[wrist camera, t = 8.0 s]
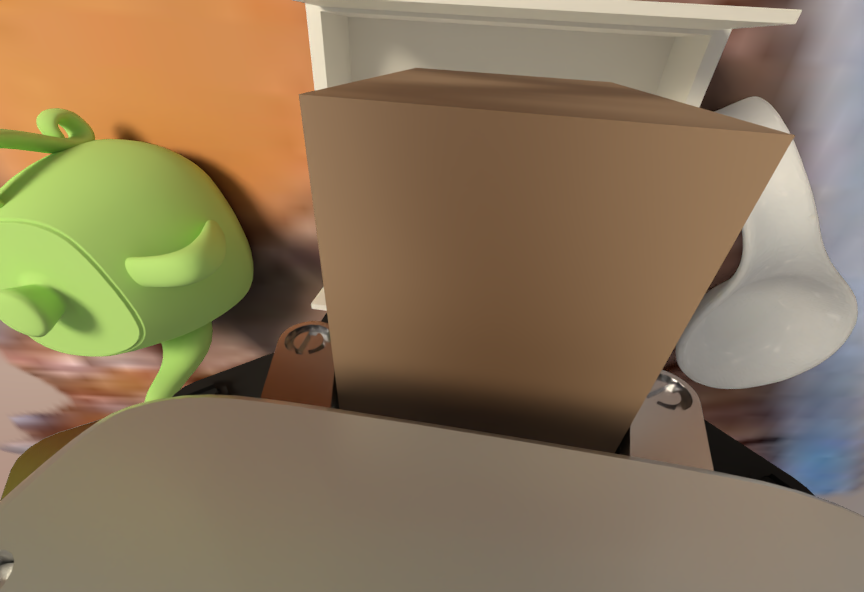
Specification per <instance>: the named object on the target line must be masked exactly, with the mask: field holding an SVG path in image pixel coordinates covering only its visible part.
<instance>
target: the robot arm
mask: <svg viewBox="0 0 864 592" xmlns="http://www.w3.org/2000/svg"><path fill="white" fill-rule="evenodd" d="M0 592H864V516H862V515H860V514H858V513H856V512H853V511H851V510H849V509H847V508H844V507H842V506H840V505H837V504H835V503H833V502H830V501H827V500H824V499H822V498H819V497H816V496H814V495H813V494H812V493H811V492H810V491H809V490H808V489H807V488H806V487H805V486H804V485H802V484H801V483H800V482H798V481H797V480H796V479H794V478H793V477H792V476H790V475H789V474H787V473H785V472H784V471H782V470H781V469H779V468H778V467H776V466H775V465H773V464H772V463H770V462H769V461H767V460H765V459H764V458H762V457H761V456H759V455H758V454H756V453H755V452H753V451H752V450H750V449H749V448H747V447H745V446H744V445H742V444H741V443H739V442H738V441H736V440H735V439H733V438H732V437H730V436H729V435H727V434H725V433H724V432H722V431H721V430H719V429H718V428H716V427H715V426H713V425H712V424H710V423H709V422H707V421H705V420H704V418H703V412H702V407H701V402H700V400H699V397H698V395H697V393H696V392H695V391H694V390H693V388H692V387H691V386H690V385H688V384H687V383H686V382H685V381H684V380H682V379H680V378H679V377H677V376H675V375H674V374H671V373H669V372H666V371H664V370H662V371H661V372H660V374H659V376H658V378H657V379H656V381H655V383H654V385H653V386H652V388H651V390H650V392H649V393H648V395H647V397H646V399H645V400H644V402H643V404H642V406H641V408H640V409H639V411H638V413H637V415H636V416H635V418H634V420H633V422H632V423H631V425H630V427H629V429H628V430H627V432H626V434H625V436H624V437H623V439H622V441H621V443H620V445H619V446H618V448H617V450H616V452H615V453H608V452H602V451H596V450H590V449H584V448H578V447H572V446H566V445H560V444H554V443H548V442H542V441H536V440H530V439H524V438H518V437H511V436H505V435H499V434H493V433H487V432H481V431H474V430H468V429H462V428H456V427H449V426H443V425H437V424H431V423H425V422H418V421H412V420H405V419H399V418H393V417H386V416H380V415H373V414H367V413H360V412H354V411H348V410H341V409H339V401H338V393H337V386H336V378H335V370H334V362H333V355H332V347H331V339H330V332H329V324H328V316H327V313H326V315H325V316H324V318H323V319H322V321H308V322H302V323H299V324H296V325H293V326H292V327H290V328H288V329H287V330H285V331H284V332H283V333H282V334H281V336H280V338H279V339H278V342H277V345H276V349H275V352H274V353H272V354H269V355H266V356H264V357H261V358H258V359H256V360H253V361H250V362H247V363H245V364H242V365H239V366H237V367H234V368H231V369H229V370H226V371H223V372H220V373H218V374H215V375H212V376H210V377H207V378H204V379H201V380H199V381H196V382H194V383H192V384H189V385H187V386H185V387H184V388H182V389H181V390H179V391H178V392H177V393H175V394H174V395H173V397H170V398H164V399H157V400H152V401H148V402H144V403H140V404H136V405H133V406H130V407H126V408H124V409H122V410H119V411H117V412H115V413H112V414H110V415H109V416H107V417H105V418H103V419H100V420H97V421H94V422H91V423H88V424H84V425H81V426H78V427H75V428H72V429H68V430H65V431H62V432H59V433H56V434H54V435H51V436H49V437H47V438H44V439H42V440H41V441H39V442H38V443H36V444H34V445H33V446H31V447H30V448H28V449H27V450H26V451H25V452H24V453H23V454H22V455H21V456H20V457H19V458H18V459H17V460H16V462H15V464H14V466H13V467H12V469H11V471H10V474H9V477H8V480H7V483H6V485H5V488H4V491H3V494H2V497H1V500H0Z"/></svg>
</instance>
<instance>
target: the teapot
mask: <svg viewBox="0 0 864 592" xmlns="http://www.w3.org/2000/svg"><path fill="white" fill-rule="evenodd" d="M58 124H59V125H60V126H62V127H63V128H64V129H65V131H66V132H67V134H68V136H69V138H65V137H64V135H63V134H62V132H61V131H60V129H59V128H58ZM37 126H38V128H39V130H40V131H41V133H42V134H43V135H41V134H35V133H29V132H23V131H16V130H7V129H0V148H8V149H19V150H27V151H35V152H43V153H51V155H48V156H46V157H44V158H42V159H40V160H38V161H37V162H35V163H33V164H31V165H30V166H28V167H27V168H25V169H24V170H22V171H21V172H19V173H18V174H17V175H15V176H14V177H12V178H11V179H10V180H9V181H8V182H7V183H6V184H5V185H3V186H2V187H1V188H0V320H1V321H3V322H4V323H5V324H6V325H8V326H9V327H11V328H12V329H14V330H16V331H18V332H20V333H23V334H25V335H28V336H29V337H31V338H32V339H34V340H35V341H36V342H38V343H40V344H42V345H44V346H45V347H48V348H50V349H53V350H56V351H59V352H62V353H67V354H72V355H79V356H111V355H117V354H122V353H126V352H131V351H135V350H138V349H142V348H145V347H149V346H152V345H155V344H159V343H162V348H163V361H162V365H161V367H160V370H159V372H158V374H157V376H156V378H155V379H154V381H153V383H152V385H151V386H150V388H149V390H148V393H147V395H146V398H145V402H148V401H152V400H157V399H164V398H170V397H173V395H174V394H175V393H177V392H178V391H179V390H180V389H181V388H182V386H183V385H184V383H185V382H186V381H187V380H188V378H189V377H190V376H191V375H192V374H193V372H194V371H195V370H196V369H197V367H198V366H199V365H200V363H201V362H202V361H203V359H204V357H205V356H206V354H207V352H208V350H209V347H210V344H211V341H212V332H213V330H212V321H213V320H214V319H216V318H218V317H219V316H221V315H223V314H224V313H225V312H227V311H228V310H230V309H231V308H232V307H233V306H235V305H236V304H237V303H238V302H239V301H240V300H241V299H242V298H244V296H245V295H246V294H247V292H248V291H249V289H250V287H251V283H252V280H253V259H252V253H251V249H250V246H249V243H248V240H247V238H246V236H245V234H244V231H243V229H242V227H241V225H240V223H239V221H238V219H237V217H236V215H235V213H234V212H233V210H232V208H231V207H230V205H229V203H228V202H227V200H226V199H225V197H224V196H223V194H222V193H221V191H220V190H219V188H218V187H217V186H216V184H215V183H214V182H213V181H212V179H211V178H210V177H209V176H208V175H207V174H206V173H205V172H204V171H203V170H202V169H201V168H200V167H199V166H197V165H196V164H195V163H193V162H192V161H190V160H188V159H187V158H185V157H183V156H182V155H180V154H178V153H175V152H173V151H171V150H168V149H166V148H164V147H161V146H158V145H154V144H150V143H146V142H141V141H133V140H122V139H102V140H95V136H94V132H93V131H92V129H91V127H90V126H89V125H88V124H87V123H86V122H85V121H84V120H83V119H82V118H81V117H80V116H78V115H77V114H75V113H74V112H71V111H68V110H65V109H59V108H55V109H47V110H44V111H42V112H41V113H40V114H39V115H38V117H37Z"/></svg>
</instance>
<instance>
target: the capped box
mask: <svg viewBox="0 0 864 592" xmlns="http://www.w3.org/2000/svg"><path fill="white" fill-rule="evenodd" d="M299 99H300V107H301V115H302V123H303V130H304V138H305V146H306V154H307V161H308V169H309V177H310V185H311V192H312V200H313V208H314V215H315V223H316V231H317V239H318V246H319V254H320V262H321V270H322V277H323V285H324V293H325V301H326V308H327V316H328V324H329V332H330V339H331V347H332V355H333V362H334V370H335V378H336V386H337V393H338V401H339V409H341V410H348V411H354V412H360V413H367V414H373V415H380V416H386V417H393V418H399V419H405V420H412V421H418V422H425V423H431V424H437V425H443V426H449V427H456V428H462V429H468V430H474V431H481V432H487V433H493V434H499V435H505V436H511V437H518V438H524V439H530V440H536V441H542V442H548V443H554V444H560V445H566V446H572V447H578V448H584V449H590V450H596V451H602V452H608V453H615V452H616V450H617V448H618V446H619V445H620V443H621V441H622V439H623V437H624V436H625V434H626V432H627V430H628V429H629V427H630V425H631V423H632V422H633V420H634V418H635V416H636V415H637V413H638V411H639V409H640V408H641V406H642V404H643V402H644V400H645V399H646V397H647V395H648V393H649V392H650V390H651V388H652V386H653V385H654V383H655V381H656V379H657V378H658V376H659V374H660V372H661V371H662V369H663V367H664V365H665V364H666V362H667V360H668V358H669V356H670V355H671V353H672V351H673V349H674V348H675V346H676V344H677V342H678V341H679V339H680V337H681V335H682V334H683V332H684V330H685V328H686V327H687V325H688V323H689V321H690V319H691V318H692V316H693V314H694V312H695V311H696V309H697V307H698V305H699V304H700V302H701V300H702V298H703V297H704V295H705V293H706V291H707V290H708V288H709V286H710V284H711V283H712V281H713V279H714V277H715V275H716V274H717V272H718V270H719V268H720V267H721V265H722V263H723V261H724V260H725V258H726V256H727V254H728V253H729V251H730V249H731V247H732V246H733V244H734V242H735V240H736V238H737V237H738V235H739V233H740V231H741V230H742V228H743V226H744V224H745V223H746V221H747V219H748V217H749V216H750V214H751V212H752V210H753V209H754V207H755V205H756V203H757V202H758V200H759V198H760V196H761V194H762V193H763V191H764V189H765V187H766V186H767V184H768V182H769V180H770V179H771V177H772V175H773V173H774V172H775V170H776V168H777V166H778V165H779V163H780V161H781V159H782V157H783V156H784V154H785V152H786V150H787V149H788V147H789V145H790V143H791V142H792V140H793V138H794V136H795V135H792V134H789V133H785V132H782V131H778V130H775V129H771V128H768V127H764V126H761V125H757V124H754V123H751V122H747V121H744V120H740V119H737V118H733V117H730V116H726V115H723V114H720V113H716V112H713V111H709V110H706V109H702V108H699V107H695V106H692V105H688V104H685V103H682V102H678V101H675V100H671V99H668V98H664V97H661V96H657V95H654V94H651V93H647V92H644V91H640V90H637V89H633V88H630V87H626V86H623V85H619V84H616V83H613V82H603V81H589V80H576V79H562V78H549V77H535V76H522V75H508V74H495V73H481V72H467V71H454V70H440V69H427V68H413V69H408V70H404V71H399V72H395V73H391V74H386V75H382V76H377V77H373V78H369V79H364V80H360V81H355V82H351V83H347V84H342V85H338V86H333V87H329V88H325V89H320V90H316V91H311V92H307V93H303V94H299Z"/></svg>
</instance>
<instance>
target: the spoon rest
mask: <svg viewBox="0 0 864 592" xmlns="http://www.w3.org/2000/svg"><path fill="white" fill-rule="evenodd" d="M714 112H716V113H720V114H723V115H726V116H730V117H733V118H737V119H740V120H744V121H747V122H751V123H754V124H757V125H761V126H764V127H768V128H771V129H775V130H778V131H782V132H785V133H789V134H790V132H789V130H788V128H787V127H786V125H785V123H784V122H783V120H782V118H781V117H780V115H779V114H778V112H777V111H776V110H775V109H774V108H773V107H772V106H771V105H770V104H769V103H768V102H767V101H766V100H764V99H762V98H760V97H756V96H754V97H748V98H746V99H743V100H740V101H738V102H736V103H733V104H731V105H728V106H726V107H724V108H722V109H720V110H717V111H714ZM742 235H743V251H742V257H741V262H740V265H739V267H738V269H737V271H736V272H735V274H734V275H733V277H732V278H730V279H729V280H727V281H725V282H723V283H721V284H719V285H717V286H716V287H714V288H712V289H711V290H710V291H708V292H707V293H706V294H705V295H704V297H703V298H702V300H701V302H700V304H699V305H698V307H697V309H696V311H695V312H694V314H693V316H692V318H691V319H690V321H689V323H688V325H687V327H686V328H685V330H684V332H683V334H682V335H681V337H680V339H679V341H678V342H677V344H676V359H677V363H678V365H679V367H680V369H681V370H682V371H683V373H684V374H685V375H687V376H688V377H689V378H690V379H692V380H693V381H695V382H697V383H700V384H703V385H705V386H709V387H714V388H721V389H742V388H750V387H756V386H762V385H766V384H771V383H776V382H779V381H783V380H786V379H789V378H791V377H794V376H796V375H799V374H801V373H803V372H805V371H807V370H809V369H811V368H813V367H815V366H817V365H819V364H820V363H822V362H823V361H825V360H826V359H827V358H829V357H830V356H831V355H833V354H834V353H835V352H836V351H837V350H838V349H839V348H840V347H841V346H842V345H843V344H844V343H845V341H846V340H847V338H848V337H849V336H850V334H851V332H852V330H853V328H854V326H855V324H856V321H857V314H858V311H857V301H856V297H855V295H854V293H853V292H852V290H851V288H850V287H849V286H848V284H847V283H846V281H845V280H844V279H843V278H842V277H841V275H840V274H839V273H838V272H837V270H836V269H835V267H834V266H833V264H832V263H831V261H830V260H829V257H828V255H827V252H826V250H825V248H824V245H823V241H822V237H821V232H820V226H819V219H818V214H817V210H816V205H815V201H814V198H813V193H812V190H811V188H810V184H809V181H808V177H807V174H806V172H805V169H804V166H803V163H802V160H801V157H800V155H799V153H798V150H797V147H796V145H795V142H794V140H792V142H791V143H790V145H789V147H788V149H787V150H786V152H785V154H784V156H783V157H782V159H781V161H780V163H779V165H778V166H777V168H776V170H775V172H774V173H773V175H772V177H771V179H770V180H769V182H768V184H767V186H766V187H765V189H764V191H763V193H762V194H761V196H760V198H759V200H758V202H757V203H756V205H755V207H754V209H753V210H752V212H751V214H750V216H749V217H748V219H747V221H746V223H745V224H744V226H743V228H742Z"/></svg>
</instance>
